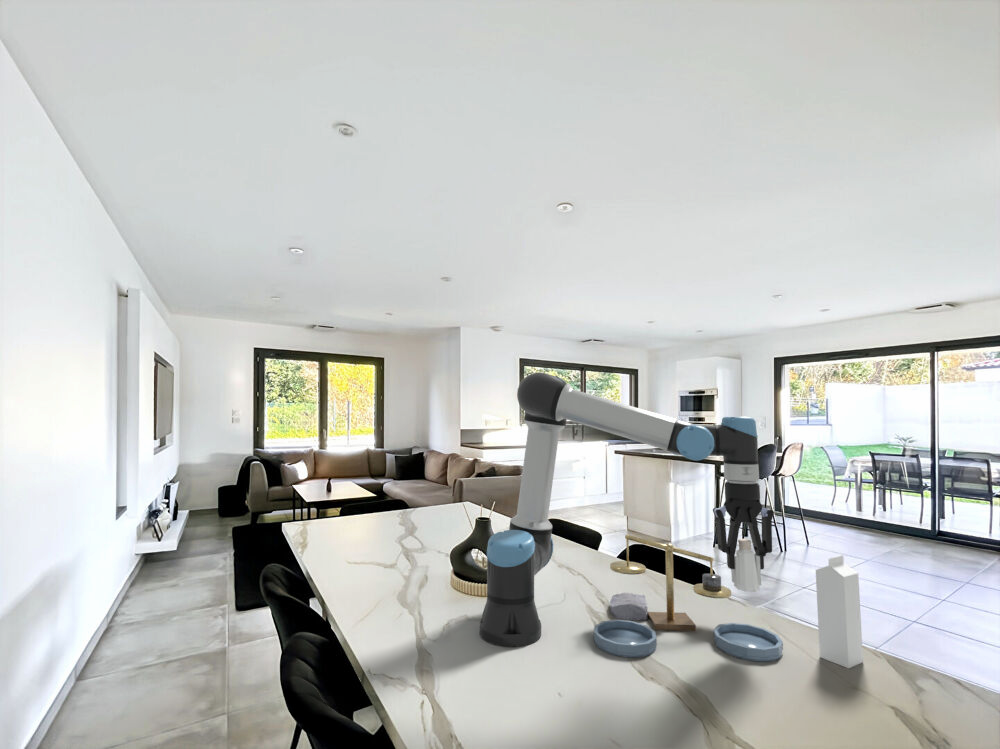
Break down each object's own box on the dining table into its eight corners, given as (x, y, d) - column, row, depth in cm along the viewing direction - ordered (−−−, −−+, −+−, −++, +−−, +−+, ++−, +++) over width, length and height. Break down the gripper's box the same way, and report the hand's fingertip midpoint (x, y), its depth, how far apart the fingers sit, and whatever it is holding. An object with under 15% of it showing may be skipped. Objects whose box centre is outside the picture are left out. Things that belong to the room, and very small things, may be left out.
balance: (614, 630, 125) (613, 538, 127) (608, 616, 134) (607, 530, 136) (738, 633, 123) (735, 540, 125) (724, 618, 132) (721, 532, 134)
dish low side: (705, 647, 116) (705, 635, 116) (726, 629, 126) (726, 618, 126) (772, 668, 106) (771, 655, 106) (789, 646, 116) (788, 634, 117)
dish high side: (582, 643, 117) (582, 632, 117) (613, 626, 127) (613, 615, 127) (638, 663, 108) (637, 651, 108) (666, 642, 118) (666, 631, 118)
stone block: (612, 626, 132) (651, 621, 130) (608, 606, 133) (647, 601, 131) (611, 611, 144) (647, 606, 142) (608, 593, 144) (643, 588, 143)
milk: (863, 662, 109) (858, 558, 111) (848, 669, 106) (844, 562, 108) (833, 651, 114) (829, 551, 116) (818, 657, 111) (814, 555, 113)
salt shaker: (732, 589, 116) (730, 540, 117) (735, 583, 121) (733, 536, 122) (758, 593, 113) (756, 543, 114) (760, 586, 118) (758, 538, 119)
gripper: (710, 483, 116) (715, 588, 114) (786, 483, 115) (792, 589, 113) (699, 479, 123) (703, 577, 121) (770, 479, 123) (775, 578, 120)
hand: (746, 583), depth 117 cm, fingers closed on salt shaker, 4 cm apart
